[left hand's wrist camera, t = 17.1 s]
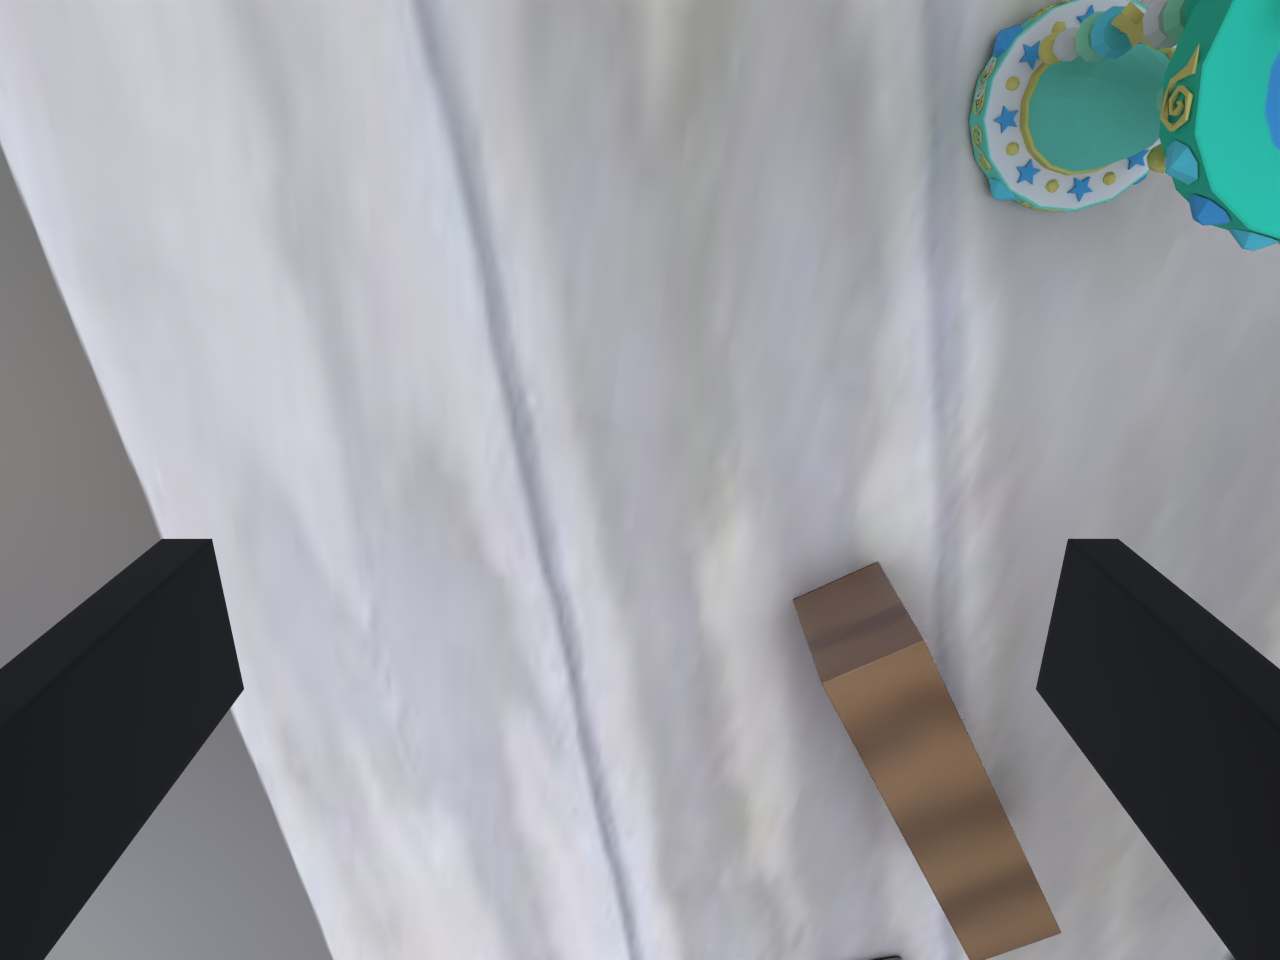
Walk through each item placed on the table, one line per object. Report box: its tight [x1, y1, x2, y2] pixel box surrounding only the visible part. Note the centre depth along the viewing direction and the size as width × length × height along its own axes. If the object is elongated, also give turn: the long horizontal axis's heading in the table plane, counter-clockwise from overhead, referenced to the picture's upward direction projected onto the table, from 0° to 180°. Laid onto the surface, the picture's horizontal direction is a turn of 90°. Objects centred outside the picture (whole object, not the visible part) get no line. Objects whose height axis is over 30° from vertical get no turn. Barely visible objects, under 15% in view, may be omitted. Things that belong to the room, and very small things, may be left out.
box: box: [793, 562, 1061, 960], centre depth 53 cm, size 24×6×9 cm, turn 28°
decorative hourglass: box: [969, 0, 1280, 251], centre depth 29 cm, size 11×11×30 cm
